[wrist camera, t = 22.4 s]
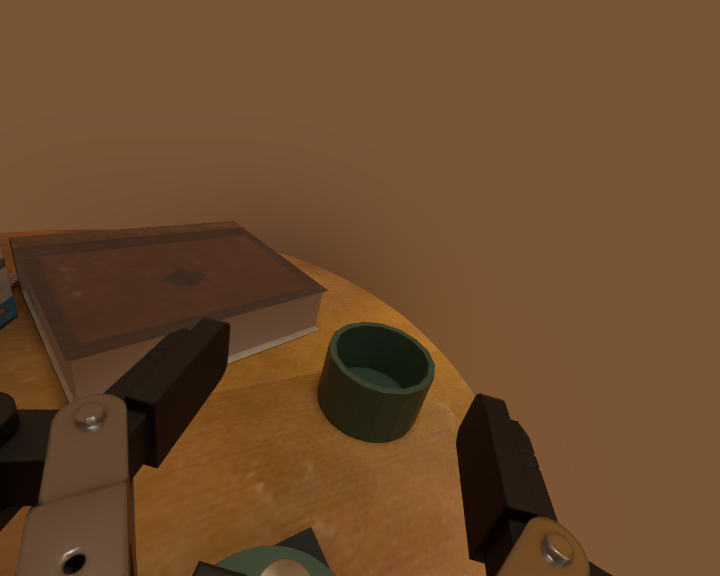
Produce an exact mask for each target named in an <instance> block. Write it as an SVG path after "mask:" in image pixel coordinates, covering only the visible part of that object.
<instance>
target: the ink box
mask: <svg viewBox="0 0 720 576" xmlns="http://www.w3.org/2000/svg"><path fill="white" fill-rule="evenodd" d="M16 316H17V310H16V306H15V302H14V298H13V294H12V290H11V286H10V282H9V278H8V274H7V270H6V266H5V262H4V257H3V253H2V249H1V245H0V328H1V327H2V326H4V325H5V324H6V323H8V322H9V321H10V320H12V319H13V318H14V317H16Z"/></svg>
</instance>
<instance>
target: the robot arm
mask: <svg viewBox="0 0 720 576" xmlns="http://www.w3.org/2000/svg"><path fill="white" fill-rule="evenodd" d="M229 340H230V324H229V323H227V322H223V321H220V320H216V319H213V318H209V317H204V318H202V319H201V320H200V321H199V322H198V323H197V324H196V325H195V326H194V327H193V328H192V329H191V330H190V329H187V328H181V329H179V330H177V331H175V332H172V333H170V334H168V335H166V336H165V337H164V338H163V339H162V340H161V341H160V342H159V343H158V344H157V345H155V347H154V348H152V349H151V350H150V351H149V352H148V353H147V354H146V355H145V357H144V358H143V357H142V358H141V359H140V360H139V361H138V362H137V363H136V364H135V365H134V366H133V367H131V368H130V369H129V370H128V371H127V372H126V373H125V374H124V375H123V376H122V377H121V378H120V379H118V380H117V381H116V382H115V383H114V384H113V385H112V386H111V387H110V388H109V389H108V390H106V391H105V392H104V393H103V394H93V395H88V396H84V397H81V398H78V399H76V400H74V401H72V402H70V403H68V404H67V405H65V406H64V407H63V408H62V409H58V410H17V407H16V404H15V401H14V399H13V398H12V397H11V396H10V395H8V394H6V393H3V392H0V531H1V530H2V529H3V528H4V527H5V525H6V524H7V523H8V522H9V521H10V520H11V519H12V518H13V517H14V516H15V514H16V513H17V512H18V511H19V510H20V509H21V508H22V507H23V506H32V507H31V508H30V509H29V511H28V513H27V516H26V520H25V524H24V530H23V535H22V540H21V546H20V551H19V556H18V562H17V567H16V572H15V576H138V575H137V560H136V537H135V509H134V480H133V477H134V476H135V475H136V473H137V472H138V471H139V469H140V468H141V467H142V465H143V464H144V465H147V466H151V467H154V468H158V467H159V466H160V464H161V463H162V461H163V460H164V459H165V457H166V456H167V454H168V453H169V452H170V450H171V449H172V447H173V446H174V445H175V443H176V442H177V440H178V439H179V438H180V436H181V435H182V433H183V432H184V431H185V429H186V428H187V426H188V425H189V424H190V422H191V421H192V419H193V418H194V417H195V415H196V414H197V412H198V411H199V410H200V408H201V407H202V405H203V404H204V403H205V401H206V400H207V398H208V397H209V396H210V394H211V393H212V391H213V390H214V389H215V387H216V386H217V384H218V383H219V382H220V380H221V378H222V377H223V375H224V372H225V370H226V367H227V363H228V353H229ZM456 448H457V456H458V465H459V474H460V482H461V491H462V499H463V508H464V516H465V525H466V533H467V542H468V551H469V559H471V560H474V561H478V562H481V563H485V568H486V575H487V576H612V575H610V574H609V573H607V572H606V571H604V570H602V569H600V568H599V567H597V566H595V565H594V564H593V563H591V562H590V561H588V559H587V556H586V554H585V552H584V550H583V548H582V547H581V545H580V543H579V542H578V541H577V540H576V538H575V537H574V536H573V535H572V534H571V533H570V532H569V531H568V530H567V529H566V528H564V527H563V526H562V525H560V524H559V523H558V521H557V518H556V515H555V513H554V509H553V506H552V503H551V501H550V498H549V495H548V492H547V489H546V486H545V483H544V480H543V477H542V474H541V471H540V470H539V465H538V463H537V459H536V457H535V456H534V450H533V448H532V444H531V442H530V439H529V437H528V435H527V434H526V432H525V431H524V430H523V428H522V427H521V426H520V424H519V423H518V422H517V421H514V420H510V417H509V413H508V410H507V407H506V404H505V402H504V401H503V400H501V399H497V398H494V397H490V396H487V395H483V394H477V395H476V396H475V398H474V400H473V402H472V404H471V406H470V408H469V410H468V412H467V413H466V415H465V417H464V419H463V421H462V423H461V425H460V427H459V430H458V434H457V440H456ZM192 576H247V575H246V574H242V573H239V572H235V571H232V570H228V569H225V568H221V567H218V566H215V565H211V564H208V563H204V562H201V561H199V563H198V565H197V567H196V569H195V571H194V573H193V575H192Z"/></svg>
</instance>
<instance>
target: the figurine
mask: <svg viewBox="0 0 720 576" xmlns="http://www.w3.org/2000/svg"><path fill="white" fill-rule="evenodd" d="M7 274H8V278H9V282H10V286H11V290H14V289H15V288H16V287H17V286H18V285H19V281H18V277H17V273H15V272H7Z"/></svg>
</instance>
